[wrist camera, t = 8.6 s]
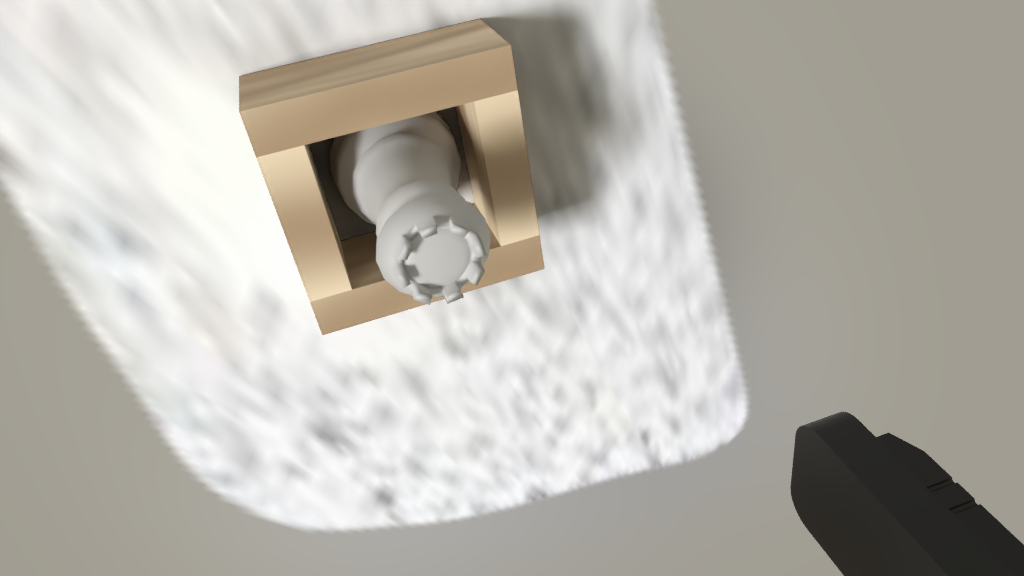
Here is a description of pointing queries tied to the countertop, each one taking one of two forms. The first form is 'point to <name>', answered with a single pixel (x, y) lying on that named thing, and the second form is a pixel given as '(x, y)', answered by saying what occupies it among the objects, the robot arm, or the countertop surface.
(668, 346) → the countertop surface
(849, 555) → the robot arm
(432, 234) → the rook chess piece
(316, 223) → the socket block
